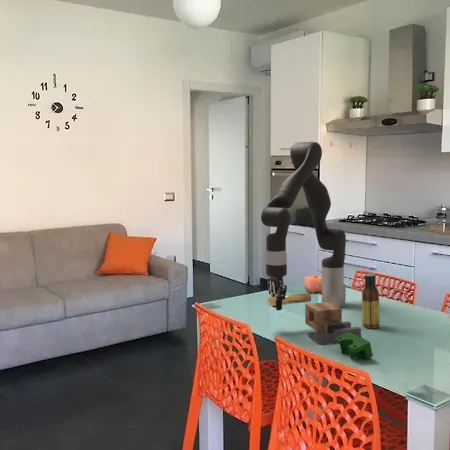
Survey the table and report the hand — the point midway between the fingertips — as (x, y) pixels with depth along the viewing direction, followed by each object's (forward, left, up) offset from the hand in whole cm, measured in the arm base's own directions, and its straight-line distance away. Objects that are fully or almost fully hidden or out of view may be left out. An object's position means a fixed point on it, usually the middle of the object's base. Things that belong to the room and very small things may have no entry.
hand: (276, 308), depth 191 cm
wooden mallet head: (-19, 0, -9) cm, 21 cm away
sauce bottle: (-35, +7, -9) cm, 37 cm away
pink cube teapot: (-40, -49, -9) cm, 64 cm away
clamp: (-14, +31, -9) cm, 35 cm away
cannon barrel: (-5, 0, +1) cm, 5 cm away
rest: (-16, +14, -9) cm, 23 cm away
